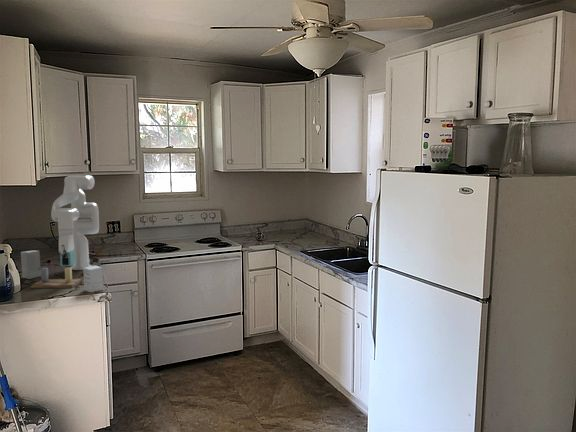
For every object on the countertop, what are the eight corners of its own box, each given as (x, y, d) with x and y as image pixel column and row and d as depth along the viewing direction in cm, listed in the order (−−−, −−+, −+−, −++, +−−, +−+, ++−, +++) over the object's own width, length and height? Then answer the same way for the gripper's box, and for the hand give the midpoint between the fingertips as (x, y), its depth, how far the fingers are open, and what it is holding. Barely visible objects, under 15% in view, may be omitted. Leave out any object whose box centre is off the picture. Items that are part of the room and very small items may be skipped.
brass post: (67, 281, 268) (66, 267, 267) (72, 281, 268) (71, 267, 267) (65, 282, 265) (64, 268, 264) (70, 282, 265) (69, 268, 264)
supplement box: (97, 287, 261) (95, 265, 260) (103, 289, 256) (102, 267, 255) (84, 290, 256) (82, 267, 254) (90, 292, 251) (89, 269, 249)
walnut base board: (43, 281, 273) (42, 279, 273) (81, 281, 274) (81, 278, 274) (31, 288, 259) (31, 285, 259) (72, 287, 260) (72, 285, 260)
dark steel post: (43, 281, 267) (43, 267, 266) (48, 281, 267) (48, 267, 266) (41, 282, 265) (40, 268, 264) (46, 282, 265) (45, 268, 264)
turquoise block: (64, 263, 268) (64, 250, 267) (74, 263, 268) (74, 250, 267) (60, 266, 262) (59, 252, 262) (70, 265, 263) (70, 252, 262)
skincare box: (29, 279, 278) (27, 252, 276) (21, 277, 281) (19, 251, 279) (42, 276, 285) (40, 250, 283) (34, 274, 288) (32, 249, 287)
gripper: (65, 229, 271) (67, 260, 274) (52, 234, 254) (54, 267, 257) (78, 229, 272) (80, 260, 274) (66, 234, 255) (68, 267, 257)
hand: (67, 263), depth 265 cm, fingers closed on turquoise block, 5 cm apart
